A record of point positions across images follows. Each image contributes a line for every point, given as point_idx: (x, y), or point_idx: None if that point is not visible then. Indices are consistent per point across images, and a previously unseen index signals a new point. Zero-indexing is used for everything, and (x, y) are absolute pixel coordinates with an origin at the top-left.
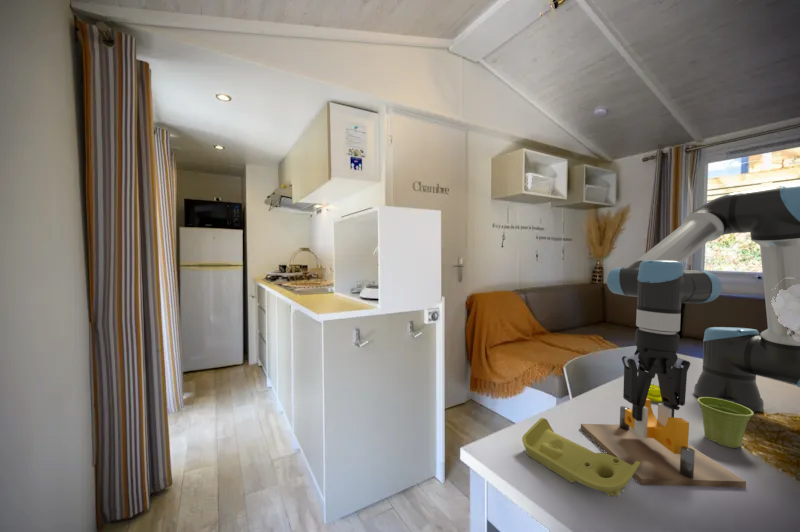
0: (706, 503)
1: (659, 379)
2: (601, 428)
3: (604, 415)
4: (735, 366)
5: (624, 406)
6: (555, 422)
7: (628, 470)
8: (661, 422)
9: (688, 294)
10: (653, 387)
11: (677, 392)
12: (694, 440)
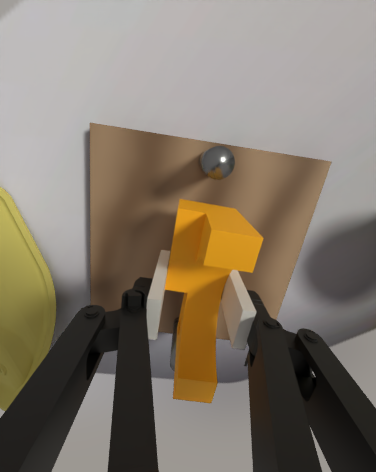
0: (163, 351)
1: (270, 447)
2: (138, 157)
3: (240, 42)
4: None
5: (228, 149)
6: (31, 76)
7: (9, 386)
8: (226, 288)
9: None
10: None
11: (309, 406)
12: (358, 214)
